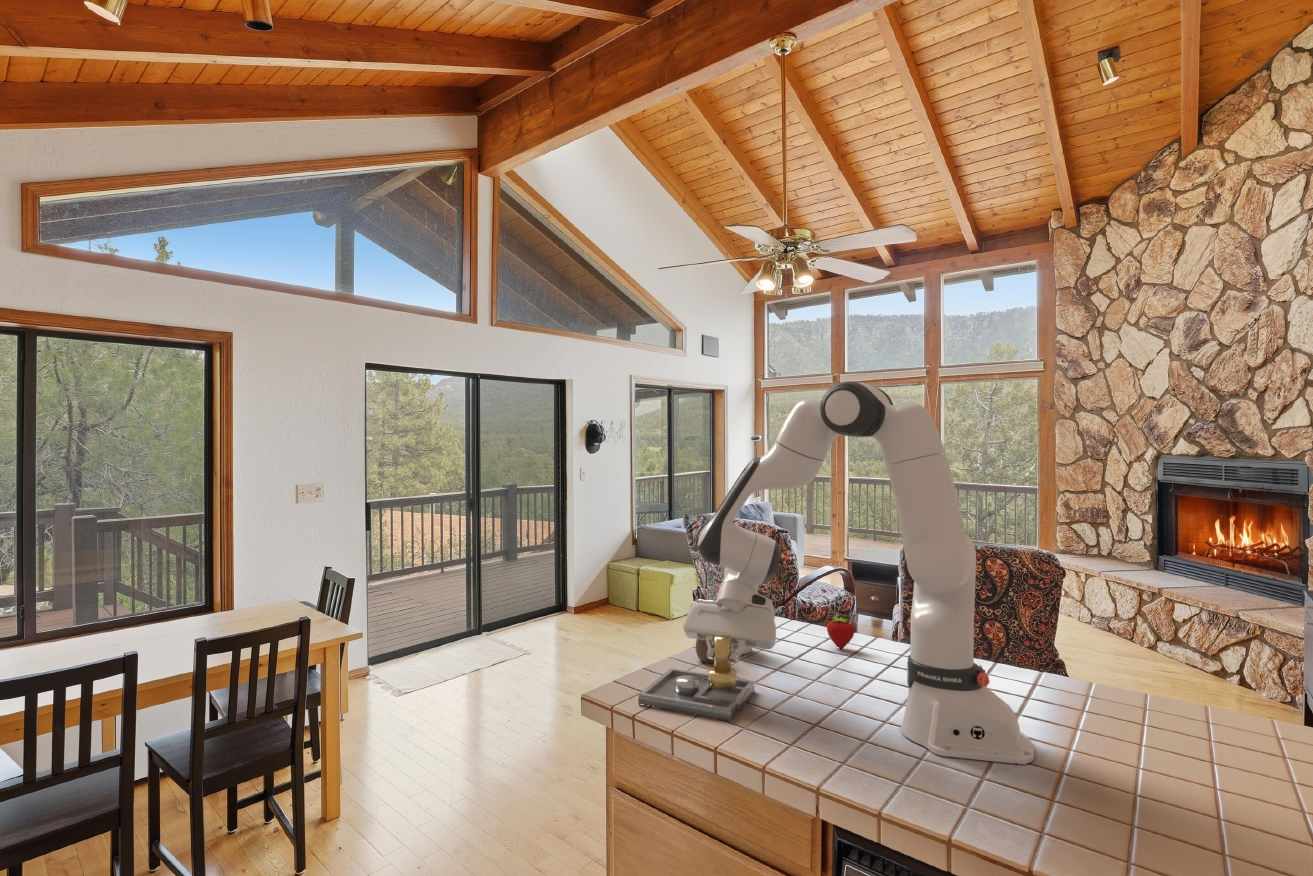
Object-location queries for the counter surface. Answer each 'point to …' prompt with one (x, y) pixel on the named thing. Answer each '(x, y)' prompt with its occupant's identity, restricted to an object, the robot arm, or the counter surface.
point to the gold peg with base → (722, 665)
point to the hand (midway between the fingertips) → (721, 659)
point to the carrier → (695, 695)
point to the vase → (703, 651)
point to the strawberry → (840, 631)
